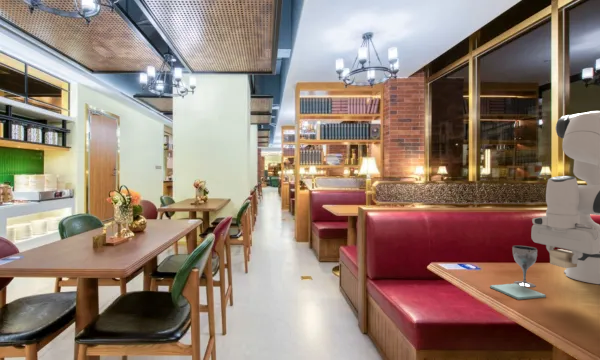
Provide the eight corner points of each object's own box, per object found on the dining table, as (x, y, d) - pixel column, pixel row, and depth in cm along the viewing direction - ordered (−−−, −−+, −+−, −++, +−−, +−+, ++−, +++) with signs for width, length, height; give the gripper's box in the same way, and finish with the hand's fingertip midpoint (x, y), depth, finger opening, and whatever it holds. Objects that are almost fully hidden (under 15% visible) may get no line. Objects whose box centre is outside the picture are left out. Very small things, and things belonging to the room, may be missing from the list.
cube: (561, 262, 105) (561, 249, 105) (576, 266, 101) (576, 252, 101) (550, 263, 105) (549, 250, 105) (565, 268, 100) (564, 253, 100)
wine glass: (529, 288, 113) (529, 250, 113) (508, 282, 120) (508, 246, 121) (541, 286, 116) (541, 248, 116) (519, 279, 124) (519, 244, 124)
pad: (515, 285, 117) (515, 283, 117) (545, 297, 105) (545, 294, 105) (490, 287, 115) (490, 285, 115) (518, 299, 103) (518, 297, 103)
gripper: (605, 225, 93) (606, 268, 93) (541, 217, 113) (541, 253, 113) (589, 226, 92) (590, 270, 92) (527, 218, 112) (528, 254, 112)
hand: (563, 260), depth 103 cm, fingers closed on cube, 5 cm apart
